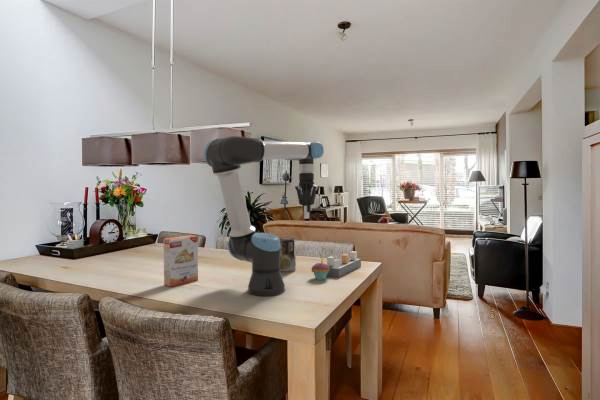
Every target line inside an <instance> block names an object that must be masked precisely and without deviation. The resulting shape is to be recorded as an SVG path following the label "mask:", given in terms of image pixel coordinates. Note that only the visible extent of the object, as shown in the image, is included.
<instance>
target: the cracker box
mask: <svg viewBox="0 0 600 400" xmlns="http://www.w3.org/2000/svg"><path fill="white" fill-rule="evenodd" d="M198 240H199V239H198V236H197V235H192V234H191V235H183V236H173V237H172V236H171V237H165V238H163V283H164V285H165V286H167V287H170V288H172V287H175V286H179V285H184V284H189V283H193V282H197V281H199V261H198V260H199V256H198V255H199V254H198V253H199V244H198V243H199V242H198Z"/></svg>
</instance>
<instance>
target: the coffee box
mask: <svg viewBox="0 0 600 400" xmlns="http://www.w3.org/2000/svg"><path fill="white" fill-rule="evenodd" d="M279 239H280V272H295V271H296V270H297V259H296V258H297V257H296V255H297V254H296V250H297V249H296V247H297V246H296V237H292V238H291V237H279Z"/></svg>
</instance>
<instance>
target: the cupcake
mask: <svg viewBox="0 0 600 400" xmlns="http://www.w3.org/2000/svg"><path fill="white" fill-rule="evenodd" d="M323 253H324V252H322V254H321V261H320V263H319V262H318V263H315V264H314V265H312V267H311V273H313V275H314V278H315V279H316V280H318V281H320V280H321V281H322V280H326V278H327V273H328V272H329V270H330V269H329V268H330V267H329V266H328V265H327V263H323V262H324V254H323Z"/></svg>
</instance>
